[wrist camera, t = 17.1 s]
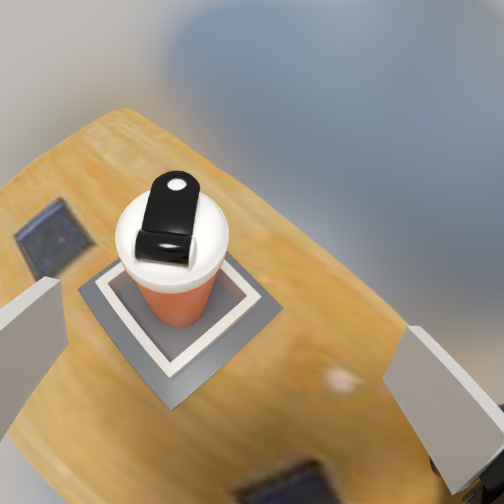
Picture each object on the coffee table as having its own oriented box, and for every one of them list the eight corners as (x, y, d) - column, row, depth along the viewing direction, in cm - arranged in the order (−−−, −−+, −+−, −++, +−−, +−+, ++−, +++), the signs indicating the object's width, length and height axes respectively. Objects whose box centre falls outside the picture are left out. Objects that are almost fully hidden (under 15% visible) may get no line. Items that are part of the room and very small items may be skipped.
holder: (281, 310, 40) (293, 298, 35) (171, 410, 31) (168, 412, 26) (187, 214, 44) (187, 194, 40) (79, 292, 35) (67, 277, 30)
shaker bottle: (210, 269, 39) (230, 163, 22) (215, 334, 35) (240, 268, 18) (145, 270, 37) (117, 164, 20) (144, 335, 33) (98, 270, 16)
